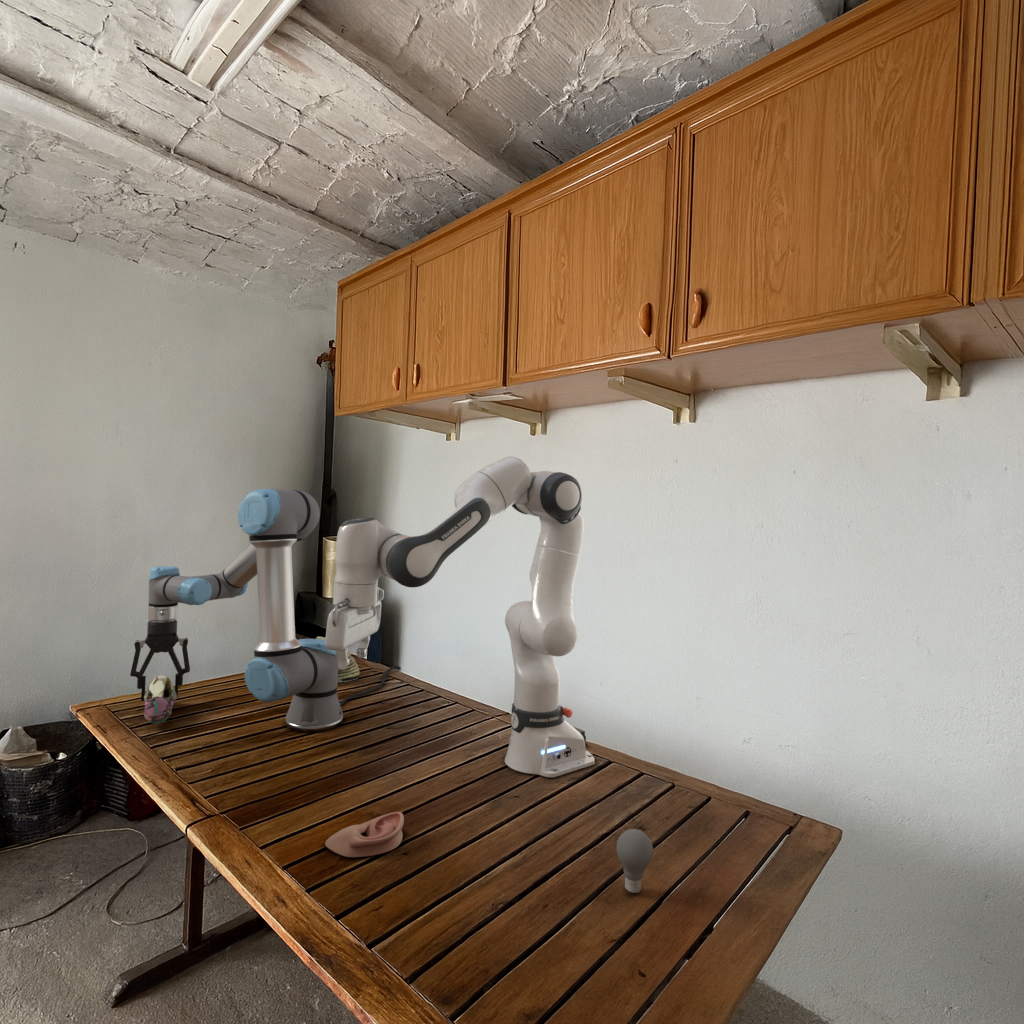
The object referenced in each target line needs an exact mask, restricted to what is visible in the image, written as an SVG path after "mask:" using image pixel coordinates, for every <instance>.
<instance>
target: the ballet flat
mask: <svg viewBox="0 0 1024 1024" xmlns="http://www.w3.org/2000/svg"><path fill="white" fill-rule="evenodd" d="M177 699H178V698H177V694H176V692H175V685H174V683H173V681H172V678H171V677H170V676H166V675H159V676H155V677H154V678H153V680H152V681H151V683H150V684H149V686H148V687H147V689H146V691H145V695H144V701H143V702H144V710H143V717H144V718H145V720H147V721H148V722H149V723H150V724H158V723H162V722H165V721H167V719H168V717H170V716H171V715H172V713H173V706H174V704H175V702H176V700H177Z"/></svg>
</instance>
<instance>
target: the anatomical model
mask: <svg viewBox="0 0 1024 1024" xmlns="http://www.w3.org/2000/svg"><path fill="white" fill-rule="evenodd" d="M404 823H405V818H404V814H403V812H401V811H393V812H390V813H386V814H383V815H380V816H377V817H375V818H372V819H370V820H368V821H365V822H362V823H360V824H353V825H350V826H349V825H348V826H347V827H344V828H342V829H340V830H339V831H337V832H335V833H334V834H332V835H331V836H329V837H328V839H326V841H325V843H324V845H325V847H326V848H327V849H328V850H330V851H332V852H334V853H335V854H337V855H340V856H342V857H345V858H362V857H363V858H364V857H371V856H376V855H381V854H385V853H387V852H390V851H393V850H394V849H396V848H397V847H399V846H400V845H401V843H402V840H403V835H404V834H403V831H402V829H403V828H404Z"/></svg>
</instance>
